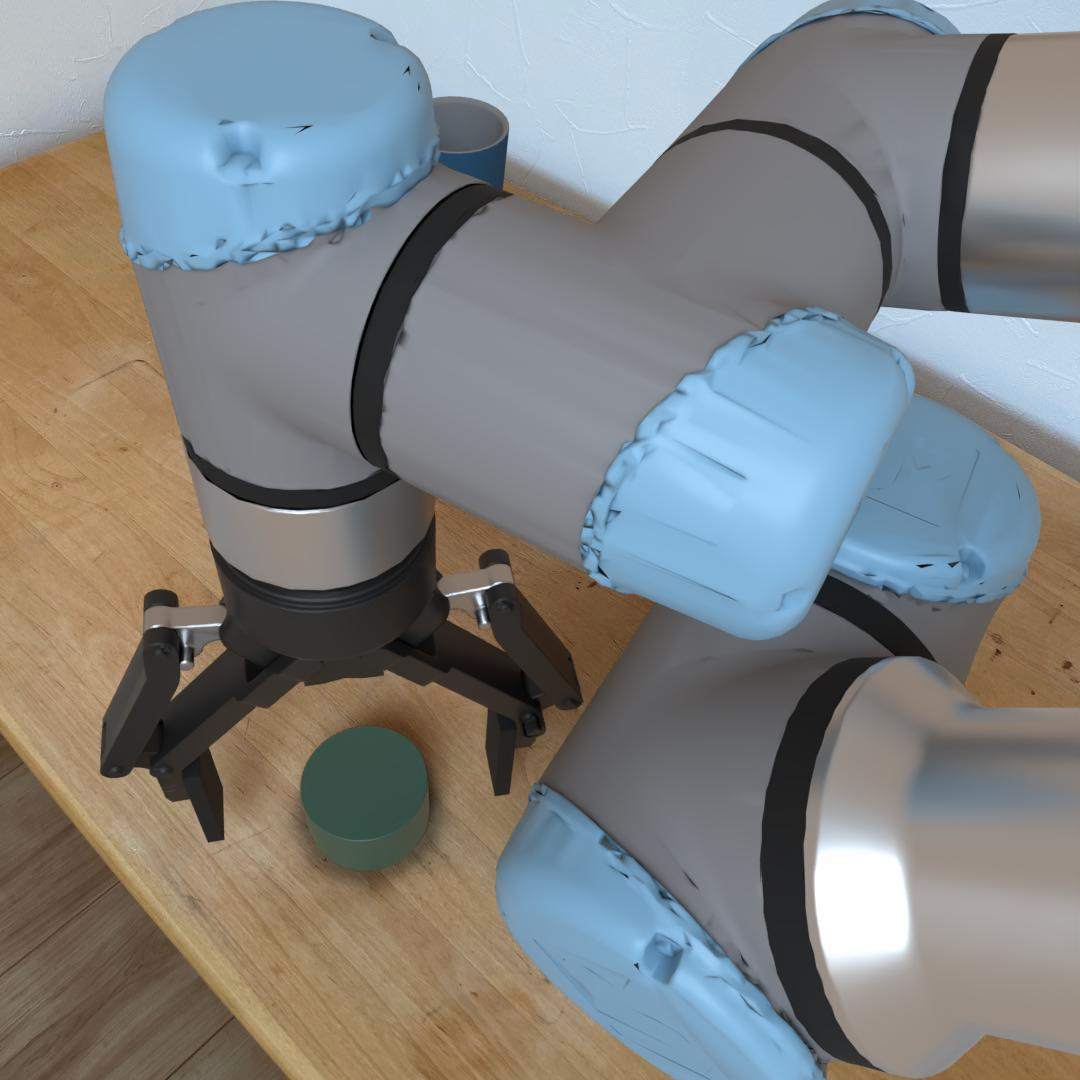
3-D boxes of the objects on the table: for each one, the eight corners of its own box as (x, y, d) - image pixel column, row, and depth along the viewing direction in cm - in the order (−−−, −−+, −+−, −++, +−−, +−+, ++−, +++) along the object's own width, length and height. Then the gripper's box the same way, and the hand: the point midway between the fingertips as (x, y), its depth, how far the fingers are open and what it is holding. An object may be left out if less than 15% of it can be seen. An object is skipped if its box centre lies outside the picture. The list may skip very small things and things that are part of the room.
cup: (435, 355, 75) (430, 163, 64) (393, 301, 79) (382, 109, 67) (518, 328, 78) (529, 137, 66) (474, 276, 81) (477, 87, 70)
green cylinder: (447, 780, 55) (446, 747, 52) (401, 888, 51) (398, 858, 48) (339, 744, 55) (333, 710, 53) (287, 848, 52) (277, 816, 49)
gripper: (651, 397, 40) (589, 690, 56) (-68, 464, 35) (93, 762, 52) (711, 553, 35) (625, 822, 52) (-105, 653, 31) (85, 913, 47)
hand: (359, 792), depth 52 cm, fingers open, 13 cm apart
